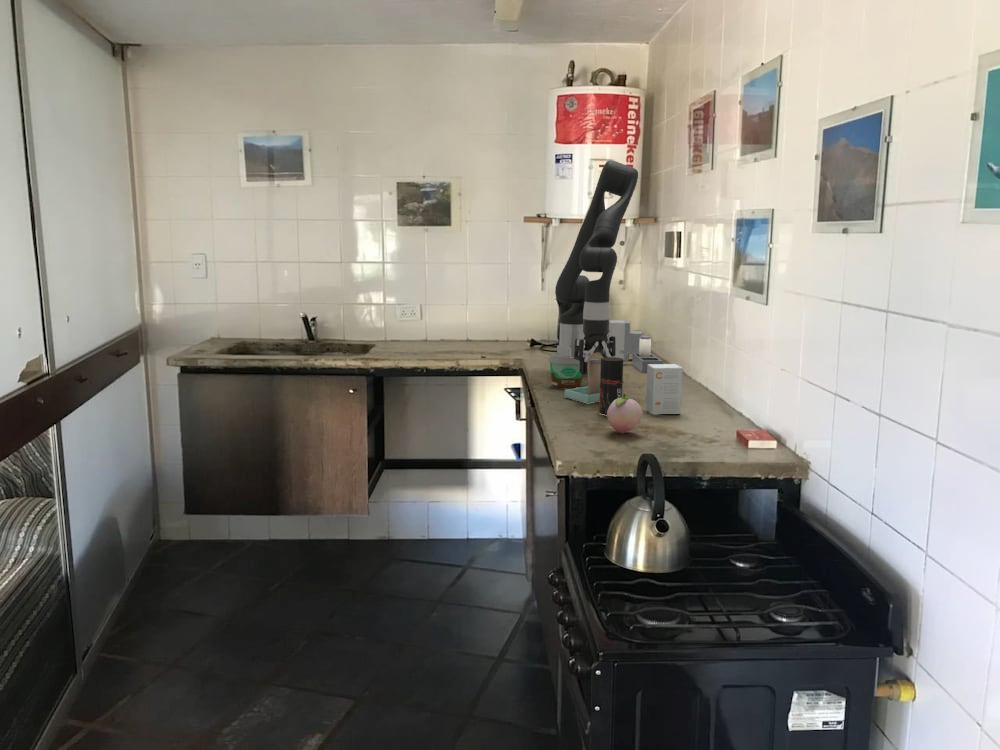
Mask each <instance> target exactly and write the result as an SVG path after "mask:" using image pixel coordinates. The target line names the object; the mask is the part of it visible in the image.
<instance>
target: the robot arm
mask: <svg viewBox="0 0 1000 750" xmlns="http://www.w3.org/2000/svg"><path fill="white" fill-rule="evenodd" d="M638 179H639V171H638V169H636V168H634V167H633V166H629V165H627V164H624V163H621V162H619V161H614V160H611V159H610V160H607V161H606V162H605V163H604V165H603V167H602V169H601V172H600V175H599V178H598V179H597V183H596V187H595V188H594V189H595V190H594V193H593V196H592V198H591V203H590V205H589V207H588V210H587V212H586V215H585V217H584V219H583V221H582V224H581V226H580V229H579V231H578V234H577V237H576V238H575V239H576V240H575V242H574V244H573V248H572V249H571V252H570V255H569V257H568V259H567V261H566V263H565V264H564V267H563V269H562V271H561V273H560V274H559V277H558V279H557V281H556V284H555V290H554V291H555V292H554V293H555V294H554V295H555V298H556V300H557V301H558V302H560V303H562V304H572V306H571V307H570V309H568V310H567V311H564V312H563V313H561V314H560V317H559V343H558V345H557V346H556V357H564V356H571V357H574V359H576V360H579V361H580V369H579V371H580V373H581V374H582V376H583V375H584V376H585V375H588V362H589V358H590V357H592V355H593V354H595V353H600V356H602V357H601V358H605V357H612V356H615V355H616V341H615V337H614V336H609V335H607V334H608V333H609V320H610V316H611V314H610V313H611V311H610V310H611V309H610V291H611V283H612V280H613V276H614V272H615V269H616V267H617V262H618V255H617V252H616V251H615V249H614V248H613V247H614V246H615V245H616V242H617V238H618V236H619V232H620V231H619V230H620V227H621V224H622V221H623V219H624V216H625V214H626V211H627V210H628V207H629V204H630V202H631V199H632V197H633V195H634V192H635V189H636V186H637V183H638ZM606 193H609V194H613V195H615V196H618V197H619V199H618V200H617V201H616V202H614V203H613V204H611V205H610V206H608V207H607V208H606V206H605V205H606V204H605V194H606ZM583 272H586V273H602V275H601V277H600V278H598V279H594V280H590V279H589V277H587V276H586V275H581V273H583ZM611 349H612V352H611ZM584 356H585V357H584Z"/></svg>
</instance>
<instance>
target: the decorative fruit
mask: <svg viewBox="0 0 1000 750" xmlns="http://www.w3.org/2000/svg"><path fill="white" fill-rule="evenodd" d="M606 417H607V421H608V423H609V424H610V426H611V427H612V428H613V429H614V430H615V431H616V432H617V433H620V434H621V433H624V434H625V433H627V432H630V431H631V430H633V429H634V428H636V427H638V425H639V424H640V423H641V420H642V417H643V411H642V407H641V405H640V404H639V403H638V402H637V401H636V400H634V399H633V398H632V397H631V396H626V394H625V393H623V397H621V398H618V399H616V400H614V401H613V402H612V403H611V405H610V406H609V408H608V411H607V416H606Z"/></svg>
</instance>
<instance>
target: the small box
mask: <svg viewBox="0 0 1000 750" xmlns="http://www.w3.org/2000/svg"><path fill="white" fill-rule="evenodd" d="M683 369H684V367H682V366H681V365H679V364H676V363H663V364H648V365H647V373H646V391H645V394H646V397H645V411H646V410H647V411H649V412H650V413H651V414H680V415H681V413H682V412H681V411H682V410H681V406H682V394H683V393H682V390H683V388H682V387H683V372H684V371H683ZM647 411H646V412H647ZM649 412H648V413H649ZM650 413H649V414H650ZM651 414H650V415H651Z"/></svg>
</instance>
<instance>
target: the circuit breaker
mask: <svg viewBox="0 0 1000 750" xmlns="http://www.w3.org/2000/svg"><path fill="white" fill-rule="evenodd" d="M607 336H614V337H615V341H616V355H615V356H612V357H615V358H622V359H623V362H628V361H630V355H632V354H639V342H640V336H643V330H642V331H641V330H639V331H638V330H631V320H620V319H619V320H616V319H614V320H613V319H609V333H608V334H607ZM611 352H612V349H611Z"/></svg>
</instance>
